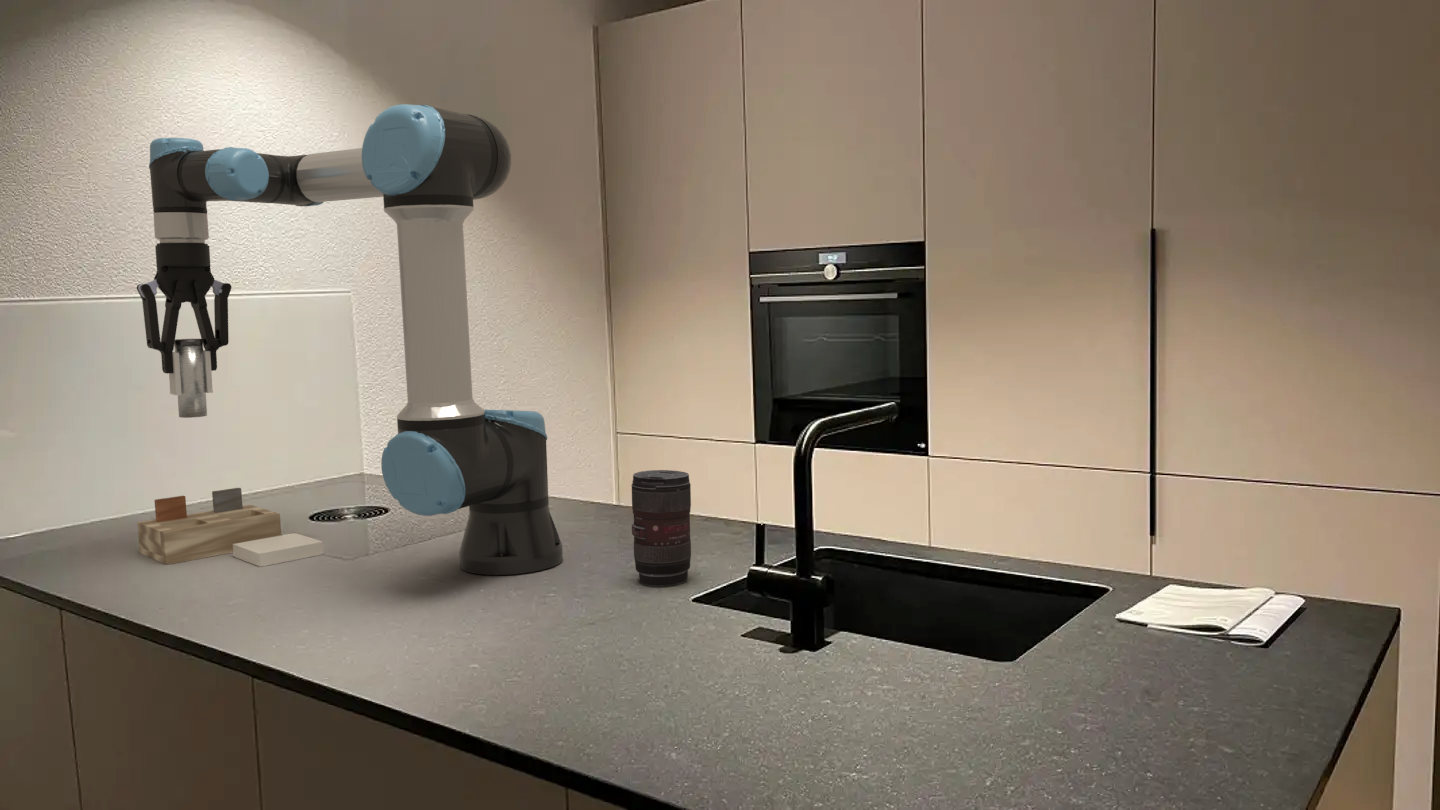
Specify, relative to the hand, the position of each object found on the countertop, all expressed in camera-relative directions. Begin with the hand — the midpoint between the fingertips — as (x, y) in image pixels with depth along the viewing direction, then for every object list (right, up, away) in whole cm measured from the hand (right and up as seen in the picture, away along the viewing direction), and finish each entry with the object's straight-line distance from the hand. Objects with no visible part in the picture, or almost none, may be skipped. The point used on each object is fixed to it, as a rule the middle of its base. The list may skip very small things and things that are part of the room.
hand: (191, 392), depth 175 cm
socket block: (0, -25, +7) cm, 26 cm away
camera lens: (+75, -26, -20) cm, 82 cm away
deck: (+13, -25, +1) cm, 29 cm away
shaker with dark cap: (0, -4, 0) cm, 4 cm away
